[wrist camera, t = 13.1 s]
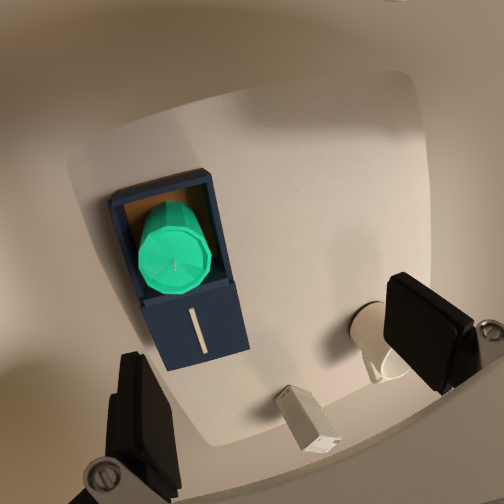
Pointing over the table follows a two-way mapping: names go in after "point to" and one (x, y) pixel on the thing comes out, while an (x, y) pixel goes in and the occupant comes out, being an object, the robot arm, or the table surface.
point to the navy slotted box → (197, 299)
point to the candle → (173, 249)
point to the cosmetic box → (307, 420)
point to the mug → (376, 343)
